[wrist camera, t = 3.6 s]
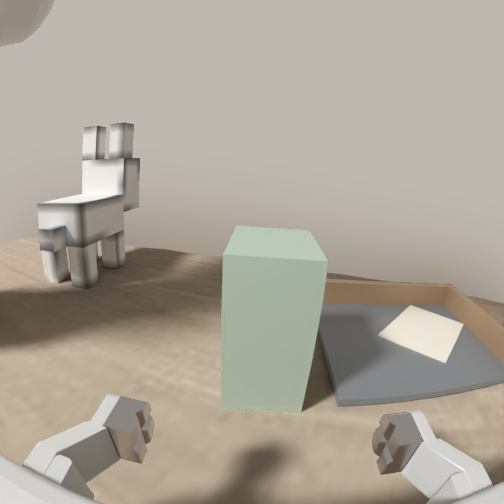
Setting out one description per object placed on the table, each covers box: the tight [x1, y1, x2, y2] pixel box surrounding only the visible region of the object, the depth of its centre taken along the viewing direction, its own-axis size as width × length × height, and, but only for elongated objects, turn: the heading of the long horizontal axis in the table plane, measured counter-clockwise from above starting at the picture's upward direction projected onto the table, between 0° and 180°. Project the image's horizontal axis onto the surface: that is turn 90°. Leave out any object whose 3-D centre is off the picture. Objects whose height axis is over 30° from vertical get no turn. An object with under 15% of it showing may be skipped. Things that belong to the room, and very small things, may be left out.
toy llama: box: [37, 123, 140, 289], centre depth 36 cm, size 8×18×20 cm, turn 174°
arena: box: [318, 279, 504, 406], centre depth 24 cm, size 18×16×3 cm
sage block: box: [221, 226, 329, 413], centre depth 19 cm, size 5×7×10 cm
